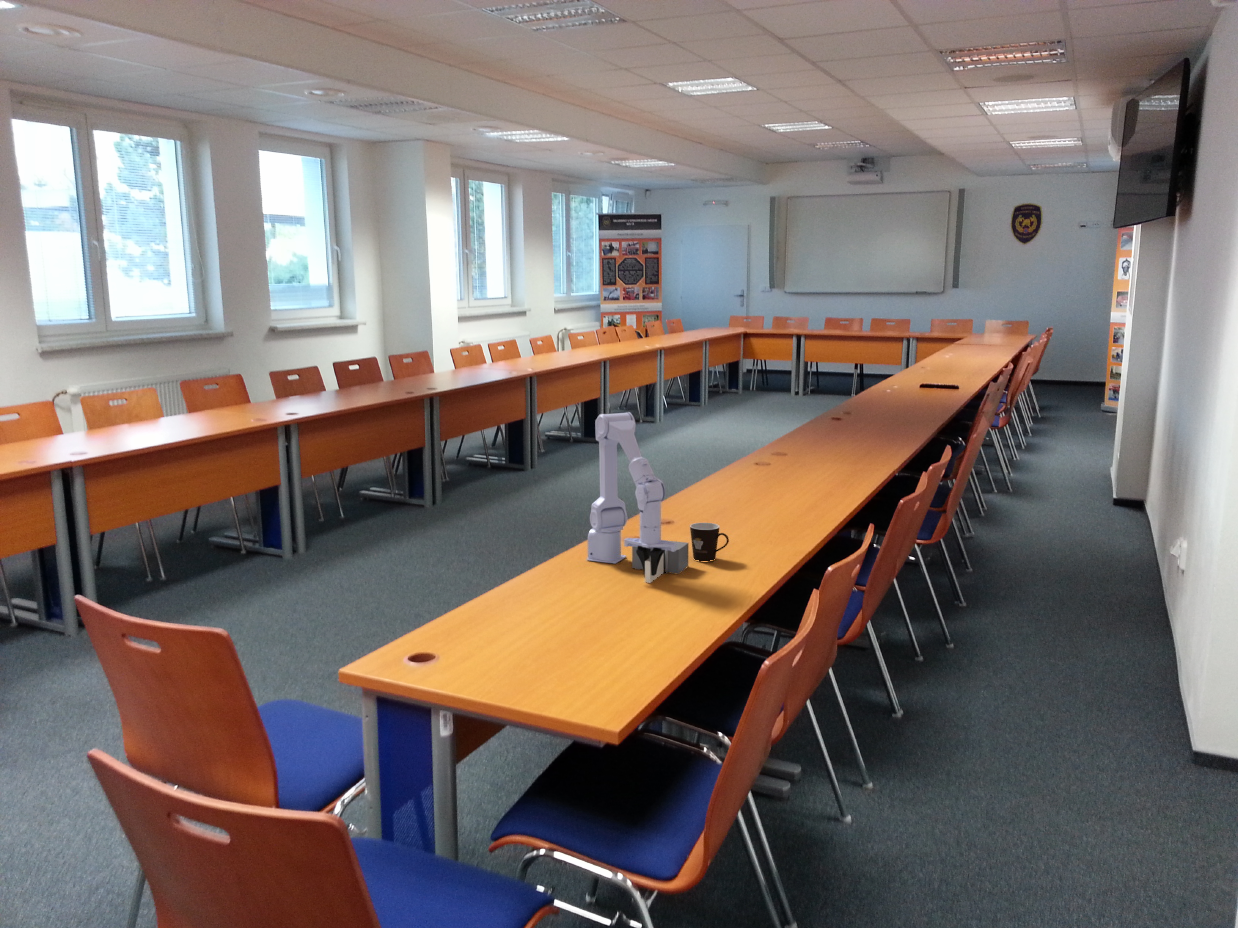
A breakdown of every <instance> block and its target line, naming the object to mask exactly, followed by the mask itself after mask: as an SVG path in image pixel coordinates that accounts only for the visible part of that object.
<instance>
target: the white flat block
mask: <svg viewBox="0 0 1238 928" xmlns="http://www.w3.org/2000/svg"><path fill="white" fill-rule="evenodd" d="M663 560H664V553H663V555H662V557H661V559H660V561H659V564H658V568H657V573H656V575H654V576H652V575H651V557H650V558H649V559H647V560H646V561H645V575H644V583H645V584H651V583H653V582H654V581H655V580H656V579H658V578H659V577H661V576H662V575H663V574H664V568H663ZM661 574H662V575H661ZM657 577H658V578H657ZM653 580H654V581H653ZM646 582H647V583H646Z"/></svg>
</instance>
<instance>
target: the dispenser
mask: <svg viewBox="0 0 1238 928" xmlns="http://www.w3.org/2000/svg"><path fill="white" fill-rule="evenodd" d="M662 540H663V541H668V542H672V543H677V550H676V551H675V552H672V551H669V550H664V560H663V569H664V568H665V569H664V573H665V572H666V573H665V574H669V573H668V572H671V573H670V574H674V573H677V575H679V574H681V573H682V572H683V571H685V570H686V569H687V568H688V567H689V544H690V543H689V542H685V541H677V540H676V541H675V540H674V541H673V540H667V539H666V540H665V539H662ZM631 547H632V546H631ZM637 548H638V547H632V549H631V555H632V558H631V562H632V564H631V568H635V570H640V569H643V567H642V564H641V561H640V559H639V557H638V555H637V554H636V550H637ZM652 550H653V549H651V551H652ZM687 566H688V567H687ZM686 567H687V568H686ZM685 568H686V569H685ZM684 569H685V570H684ZM681 571H682V572H681ZM680 572H681V573H680Z"/></svg>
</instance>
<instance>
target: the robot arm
mask: <svg viewBox="0 0 1238 928" xmlns="http://www.w3.org/2000/svg"><path fill="white" fill-rule="evenodd" d="M594 424H595V427H594V429H595V440H596V441H597V442H598V443H599V445H598V446H599V452H598V453H599V497H598V498H597V499H596V500H595V501H594V502H592V504H591V507H590V508H591V510H590V515H589V522H590V526H591V527H592V528H591V529H590V530H589V532H588V534H587V558H586V561H590V562H598V563H605V564H606V563H607V564H618V563H619V562H620V561H622V560H624V559H625V558H627V555H626V554H622V531H623V530H624V527H625V526H627V522H628V514H627V509H626V503H625V501H623V500H621V498H620V497H618V496H619V493H618V492H619V491H618V490H619V489H618V488H619V487H618V485H619V484H618V444H619V445H620V446H621V448H622V450H623V453H624V454H625V456H626V457H627V459H628V461H629V464H628V467H627V468H628V470H629V474H630V475H631V477H632V480H633V483H634V485H635V491H634V492H635V498H636V502H637V508H638V509H639V537H637V538H635V537H633V538H630V537H626V538H624V539H623V541H624V542H623V545H624V547H627V548H628V547H638V548H637V550H636V554H637V555H638V557H639V559H640V561H641V564H642V567H643V575H644V576H645V561H646V560H647V559H649V558H650V557H651V575H652V576H654V575H656V573H657V568H658V564H659V561H660V559H661V557H662V555H663V553H664V550H669V551H672V552H675V551H676V550H677V543H672V542H668V541H669V540H667V541H663V540H664V539H662V525H661V524H662V502H663V501H664V500H665V499H666V487H665V485H664V482H663V481H662V480H661V479H659V477H657V476H655V474H654V470H653V469H652V467H651V464H650V462H649V460H648V458H646V457H643V456H642V453H641V450H640V448H639V444H638V442H637V438H636V436H635V433H636V420H635V417H634V416H633V414H632V412H630V411H626V412H619V413H618V412H617V413H616V412H615V413H600V414H599V415H598V416H597V418H596V419H595V423H594ZM651 549H653V550H652V551H651Z"/></svg>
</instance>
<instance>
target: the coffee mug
mask: <svg viewBox="0 0 1238 928" xmlns="http://www.w3.org/2000/svg"><path fill="white" fill-rule="evenodd" d="M689 530H690V538H691V547H692V549H691V550H692V557H693V558H694V559H695V560H699V561H710V560H714V559H715V560H716V556H717V552H719V551H720V550H722V549H724V548H726V547H727V545H728V544H729V542H730V540H729V539H730V538H729V536H728V535H727V534H726V533H724V532H720V525H719V524H717V523H713V522H695V523H691V524H690V525H689ZM719 532H720V533H719ZM720 536H724V537H725V538H726V542H725V544H724V545H723V546H721V547H719V548H718V541H719V537H720ZM693 558H692V559H693ZM694 559H693V560H694ZM695 560H694V561H695Z"/></svg>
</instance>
